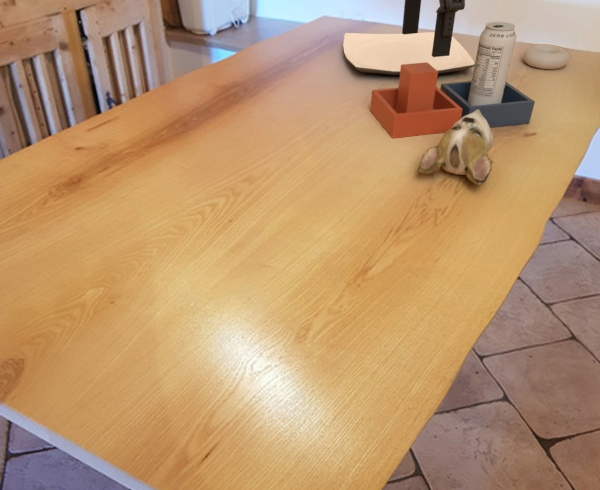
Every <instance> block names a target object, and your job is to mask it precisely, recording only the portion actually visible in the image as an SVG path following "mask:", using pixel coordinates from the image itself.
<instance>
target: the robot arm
mask: <svg viewBox="0 0 600 490" xmlns="http://www.w3.org/2000/svg"><path fill="white" fill-rule="evenodd" d="M438 3H439V7H437V9H436V10H435V13H436V19H435V25H434V32H435V34H434V41H433V49H432V56H433V57H441V56H449V54H450V47H451V40H452V36H453V33H454V26H455V19H456V13H457V12H459V11H464V9H465V8H466V0H438ZM421 6H422V0H404V6H403V7H404V9H403V16H402V17H403V20H402V28H401V29H402V30H401V34H403V35H404V34H415V33H419V24H420V17H421Z"/></svg>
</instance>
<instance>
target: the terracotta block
mask: <svg viewBox="0 0 600 490" xmlns="http://www.w3.org/2000/svg"><path fill="white" fill-rule="evenodd" d="M438 75H439V74H438V71H437V70H436V69H435V68H433V67H432V66H431V65H430V64H428V63H427V62H426V63H414V64H403V65H401V69H400V75H399V78H398V87H397V88H398V98H397V107H396V113H397V114H399V113H409V112H419V111H429V110H432V109H433V103H434V96H435V89H436V86H437V83H438V82H437V80H438Z"/></svg>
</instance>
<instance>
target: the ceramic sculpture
mask: <svg viewBox="0 0 600 490" xmlns="http://www.w3.org/2000/svg"><path fill="white" fill-rule="evenodd" d="M494 141H495V138H494V136H493V132H492V129H491V128H490V126H489V124H488V123H487V121H486V119H485V118H484V117H483V116H482V114H481V112H480V110H478V109H477V110H476V111H474V112H473V113H471V114H468V115H466V116H464V117H462V118H461V119H460V120H459V121H457V122H456V123H455V124H454V125H453V127H452V128H450V129H449V130H448V131H447V132H445V133H443V136H442V138H441V139H440V141H439V142H438V144H437V145H435V146H432V147H430V148H427V150H426V152H425V153H424V154H422V157H421V160H420V163H419V166H418V169H417V173H418V174H427V175H428V174H435V173H437V172H438V171H440V169H441V168H442V169H443V170H444V171H445V172H447V173H450V174H455V175H460V176H466V178H467V180H469V181H470V182H471V183H472V184H475V185H477V186H480V185H482V184H483V183H486V181H487V179H488V178H489V176H490V174H491V171H492V164H493V161H492V159H491V157H490V156H489V155H488V154H487V153H488V152H489V151H490V149H491V148H492V147H493V145H494Z"/></svg>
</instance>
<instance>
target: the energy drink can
mask: <svg viewBox="0 0 600 490" xmlns="http://www.w3.org/2000/svg"><path fill="white" fill-rule="evenodd" d="M515 28H516V26H515V25H514V24H513V23H511V22H508V21H507V22H506V21H489V22H487V23H486V24H485V27H484V29H483V30H482V31H481V33H480V35H479V40H478V45H477V51H476V55H475V61H474V63H475V66H474V67H473V72H472V77H471V81H472V82H471V87H470V92H469V98H468V103H469V104H470V105H471V106H479V105H489V104H499V103H501V101H502V97H503V92H504V88H505V84H506V82H507V79H508V76H509V70H510V66H511V61H512V57H513V53H514V48H515V44H516V40H517V34H516V31H515Z"/></svg>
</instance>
